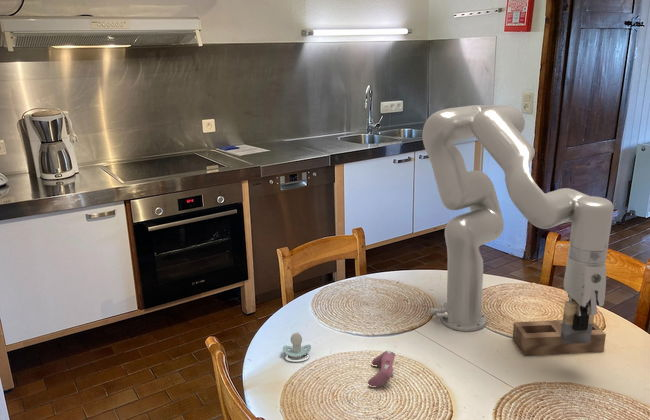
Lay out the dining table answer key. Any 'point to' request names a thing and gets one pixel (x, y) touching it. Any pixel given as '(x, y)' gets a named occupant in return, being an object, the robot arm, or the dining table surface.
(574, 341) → the rail end
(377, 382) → the purple curved piece
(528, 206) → the robot arm
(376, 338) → the dining table surface
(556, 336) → the hollow wooden brick
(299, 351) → the pacifier
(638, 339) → the dining table surface
